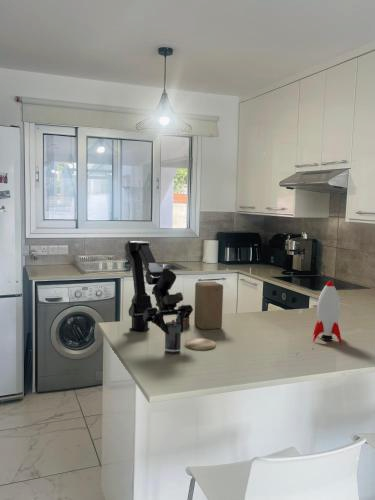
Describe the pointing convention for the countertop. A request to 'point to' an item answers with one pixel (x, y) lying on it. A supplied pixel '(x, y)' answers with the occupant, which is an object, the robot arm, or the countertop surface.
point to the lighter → (185, 320)
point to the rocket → (328, 313)
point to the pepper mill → (173, 337)
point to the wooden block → (208, 305)
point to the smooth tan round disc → (200, 344)
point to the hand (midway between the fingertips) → (174, 332)
